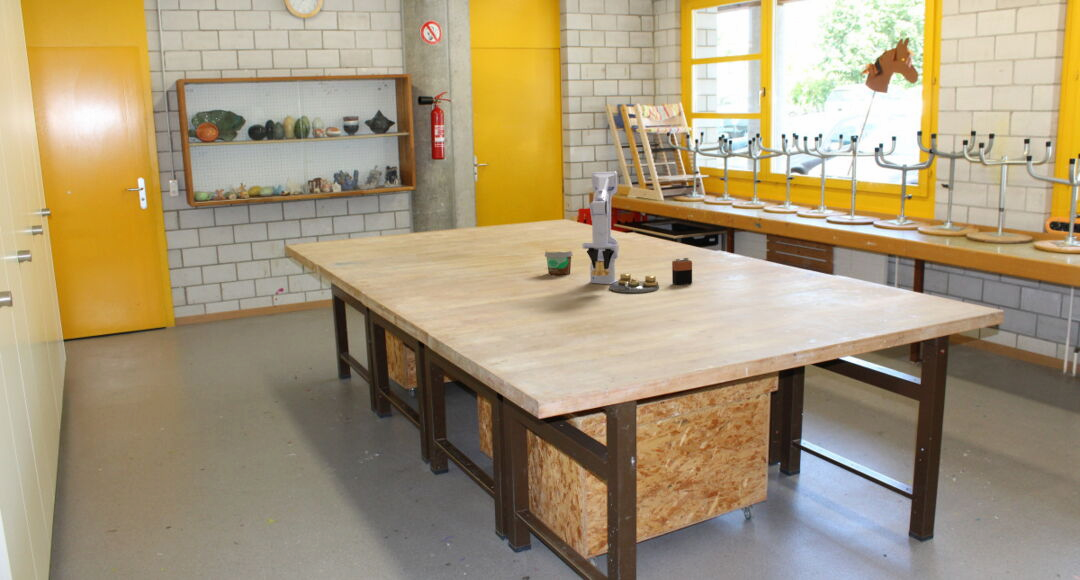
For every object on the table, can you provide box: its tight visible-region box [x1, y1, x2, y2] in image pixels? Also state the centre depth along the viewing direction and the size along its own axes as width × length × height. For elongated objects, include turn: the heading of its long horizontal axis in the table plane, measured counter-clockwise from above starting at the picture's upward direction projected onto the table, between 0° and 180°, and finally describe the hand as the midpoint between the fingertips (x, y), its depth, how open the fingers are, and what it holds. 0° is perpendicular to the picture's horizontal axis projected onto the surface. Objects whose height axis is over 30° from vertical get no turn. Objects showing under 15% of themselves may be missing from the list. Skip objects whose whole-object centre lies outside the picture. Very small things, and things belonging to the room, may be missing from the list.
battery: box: [671, 257, 693, 286], centre depth 349 cm, size 4×7×10 cm, turn 105°
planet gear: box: [592, 261, 610, 276], centre depth 337 cm, size 7×7×5 cm
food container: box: [544, 250, 573, 277], centre depth 377 cm, size 12×6×10 cm, turn 68°
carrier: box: [609, 273, 660, 295], centre depth 344 cm, size 19×19×4 cm
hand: (600, 268), depth 337 cm, fingers closed on planet gear, 4 cm apart
